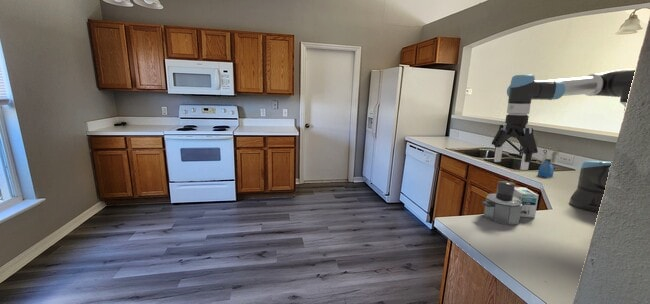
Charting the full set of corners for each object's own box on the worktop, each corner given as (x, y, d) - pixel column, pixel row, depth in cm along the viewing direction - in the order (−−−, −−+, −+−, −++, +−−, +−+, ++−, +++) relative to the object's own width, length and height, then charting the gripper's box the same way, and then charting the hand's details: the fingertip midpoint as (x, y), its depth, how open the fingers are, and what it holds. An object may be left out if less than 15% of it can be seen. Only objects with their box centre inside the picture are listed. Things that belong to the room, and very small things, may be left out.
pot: (506, 211, 126) (509, 194, 124) (531, 223, 113) (534, 205, 112) (472, 212, 123) (474, 196, 121) (494, 226, 110) (496, 207, 109)
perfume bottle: (548, 177, 182) (551, 160, 179) (537, 175, 187) (540, 158, 185) (552, 176, 185) (555, 159, 182) (542, 174, 190) (545, 157, 188)
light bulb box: (535, 218, 118) (539, 195, 116) (518, 216, 120) (522, 193, 118) (522, 208, 129) (526, 187, 127) (507, 207, 130) (510, 186, 128)
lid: (504, 199, 124) (507, 178, 122) (528, 210, 112) (532, 187, 110) (479, 200, 122) (482, 179, 120) (501, 211, 110) (505, 188, 108)
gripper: (486, 112, 120) (480, 159, 125) (538, 116, 96) (528, 173, 101) (501, 112, 122) (494, 158, 126) (555, 116, 98) (545, 173, 102)
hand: (509, 165), depth 113 cm, fingers open, 13 cm apart
